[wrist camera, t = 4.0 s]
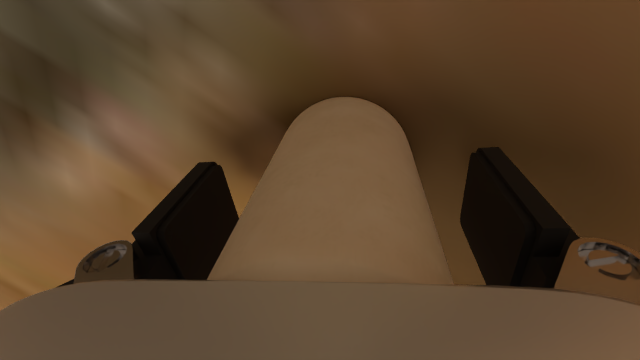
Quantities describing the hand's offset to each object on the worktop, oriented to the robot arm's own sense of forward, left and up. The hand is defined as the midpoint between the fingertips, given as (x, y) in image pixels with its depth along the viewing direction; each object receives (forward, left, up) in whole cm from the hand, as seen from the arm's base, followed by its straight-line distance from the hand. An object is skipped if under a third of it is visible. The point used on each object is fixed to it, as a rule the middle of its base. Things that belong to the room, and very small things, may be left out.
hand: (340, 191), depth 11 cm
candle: (0, 0, -3) cm, 3 cm away
